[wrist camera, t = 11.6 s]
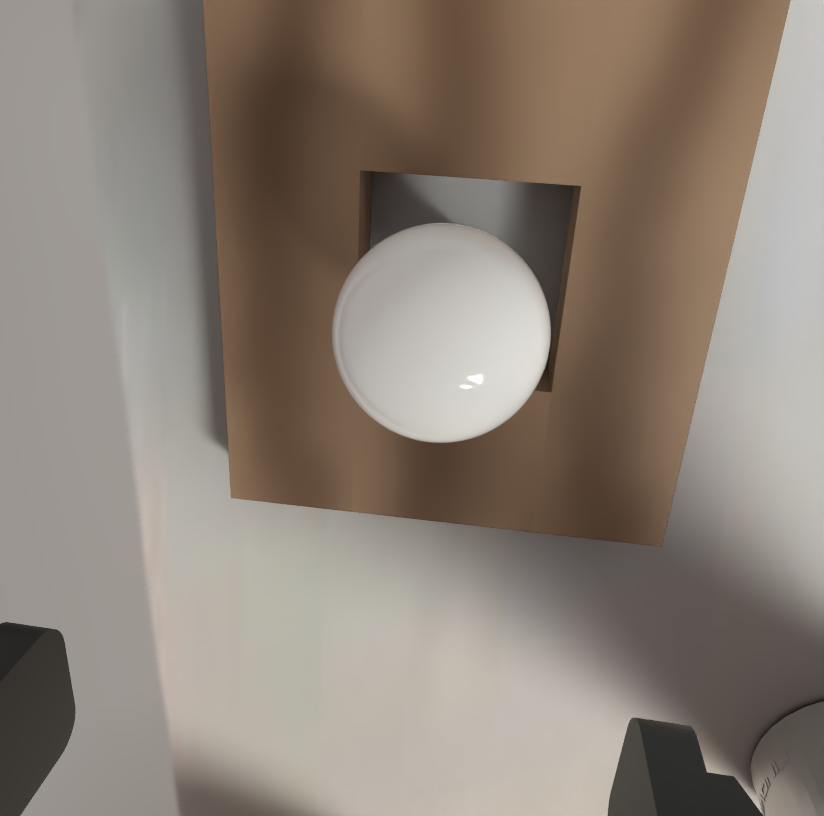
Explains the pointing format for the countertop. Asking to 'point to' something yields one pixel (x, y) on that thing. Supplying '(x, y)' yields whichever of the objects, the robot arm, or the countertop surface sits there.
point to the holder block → (496, 160)
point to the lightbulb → (441, 332)
